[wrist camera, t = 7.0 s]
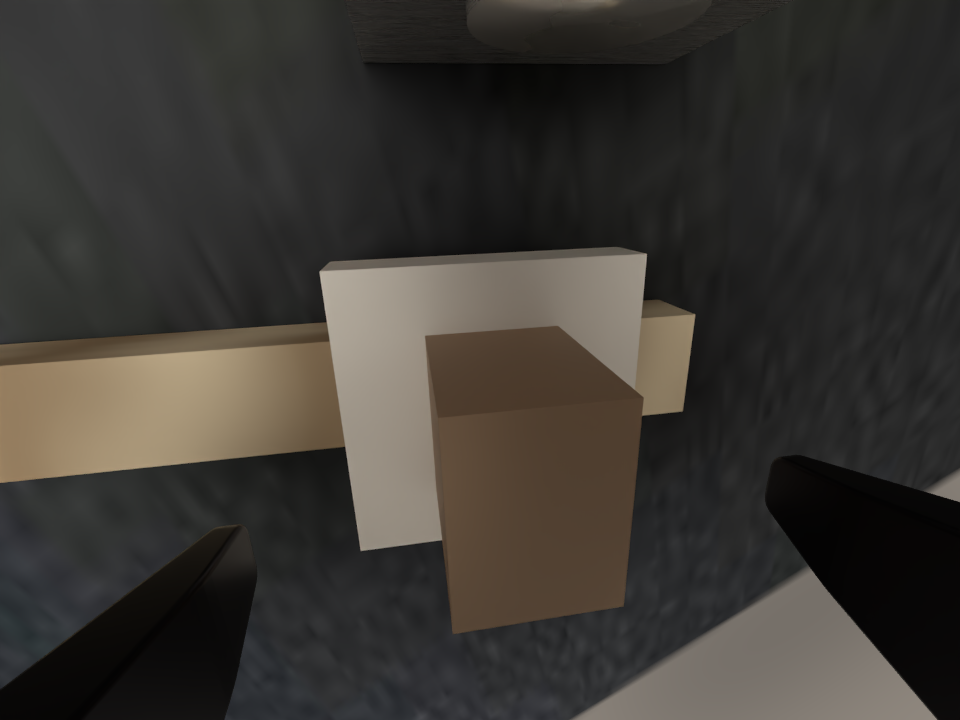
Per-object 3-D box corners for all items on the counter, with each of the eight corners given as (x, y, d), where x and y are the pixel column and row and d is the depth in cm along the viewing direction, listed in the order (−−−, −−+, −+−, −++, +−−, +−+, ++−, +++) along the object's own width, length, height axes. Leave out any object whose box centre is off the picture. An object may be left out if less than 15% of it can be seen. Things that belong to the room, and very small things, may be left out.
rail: (658, 299, 15) (695, 314, 13) (649, 386, 16) (682, 411, 14) (-15, 345, 12) (-90, 372, 10) (26, 445, 13) (-36, 486, 11)
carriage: (588, 239, 13) (787, 286, 7) (578, 449, 16) (716, 650, 9) (341, 251, 13) (264, 322, 6) (370, 473, 15) (341, 717, 8)
